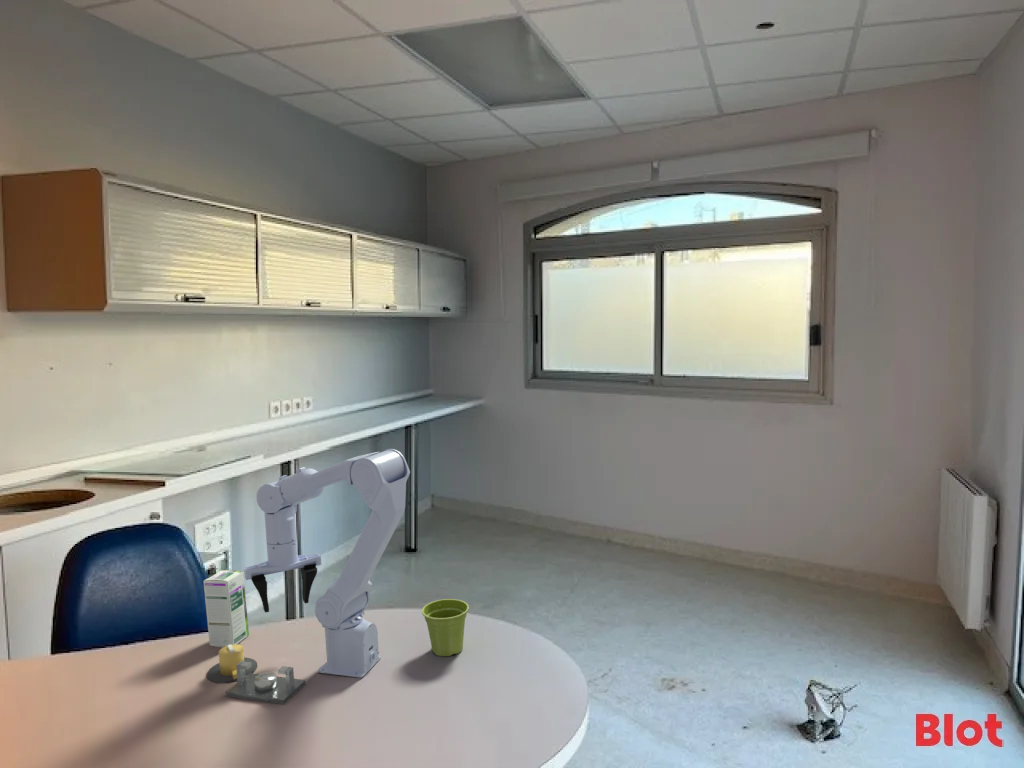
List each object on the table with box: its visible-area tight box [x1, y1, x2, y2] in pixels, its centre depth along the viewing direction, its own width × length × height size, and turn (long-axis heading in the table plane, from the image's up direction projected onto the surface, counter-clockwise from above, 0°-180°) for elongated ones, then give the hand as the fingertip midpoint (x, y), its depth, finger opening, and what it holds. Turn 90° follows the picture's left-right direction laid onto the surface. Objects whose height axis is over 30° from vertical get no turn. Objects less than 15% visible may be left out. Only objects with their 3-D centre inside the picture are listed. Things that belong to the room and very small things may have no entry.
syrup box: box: [203, 569, 250, 648], centre depth 144 cm, size 6×6×14 cm
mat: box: [206, 656, 258, 684], centre depth 133 cm, size 9×9×1 cm
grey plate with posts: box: [225, 661, 307, 705], centre depth 125 cm, size 12×7×5 cm, turn 74°
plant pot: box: [421, 598, 470, 657], centre depth 137 cm, size 9×9×9 cm
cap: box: [218, 643, 245, 679], centre depth 132 cm, size 8×4×4 cm, turn 33°
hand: (286, 605), depth 138 cm, fingers open, 7 cm apart
